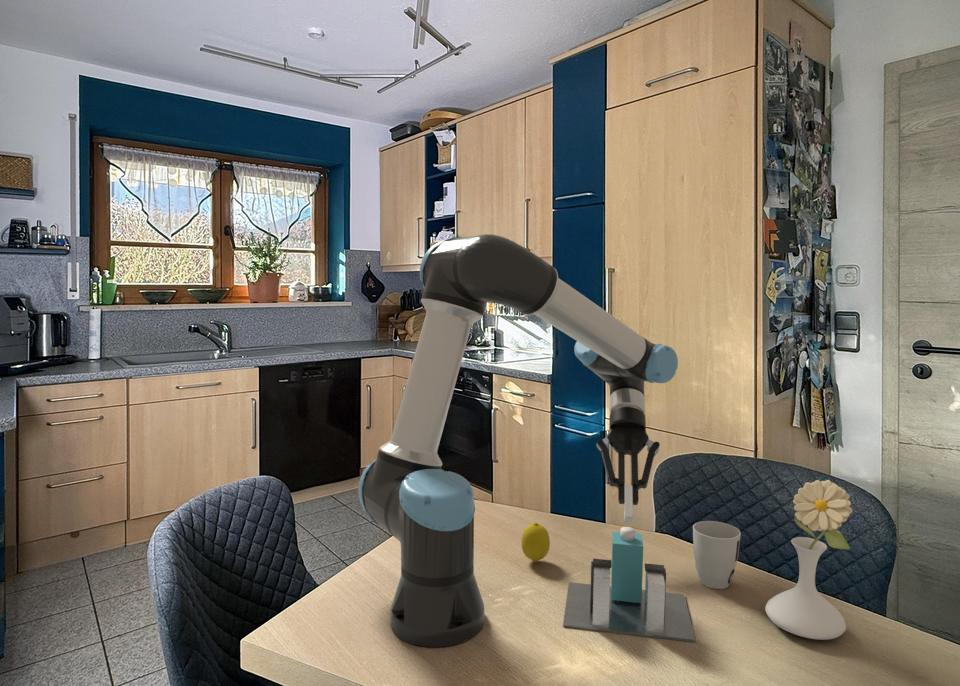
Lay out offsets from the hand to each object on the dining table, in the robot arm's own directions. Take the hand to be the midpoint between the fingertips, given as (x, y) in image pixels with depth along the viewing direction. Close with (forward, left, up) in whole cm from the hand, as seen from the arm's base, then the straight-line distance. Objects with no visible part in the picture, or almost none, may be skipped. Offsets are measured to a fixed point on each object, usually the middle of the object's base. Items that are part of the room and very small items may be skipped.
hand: (628, 519), depth 116 cm
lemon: (-18, -2, -10) cm, 20 cm away
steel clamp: (-1, -16, -9) cm, 19 cm away
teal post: (-1, -13, -9) cm, 16 cm away
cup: (+15, -3, -10) cm, 18 cm away
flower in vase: (+27, -16, -10) cm, 33 cm away
